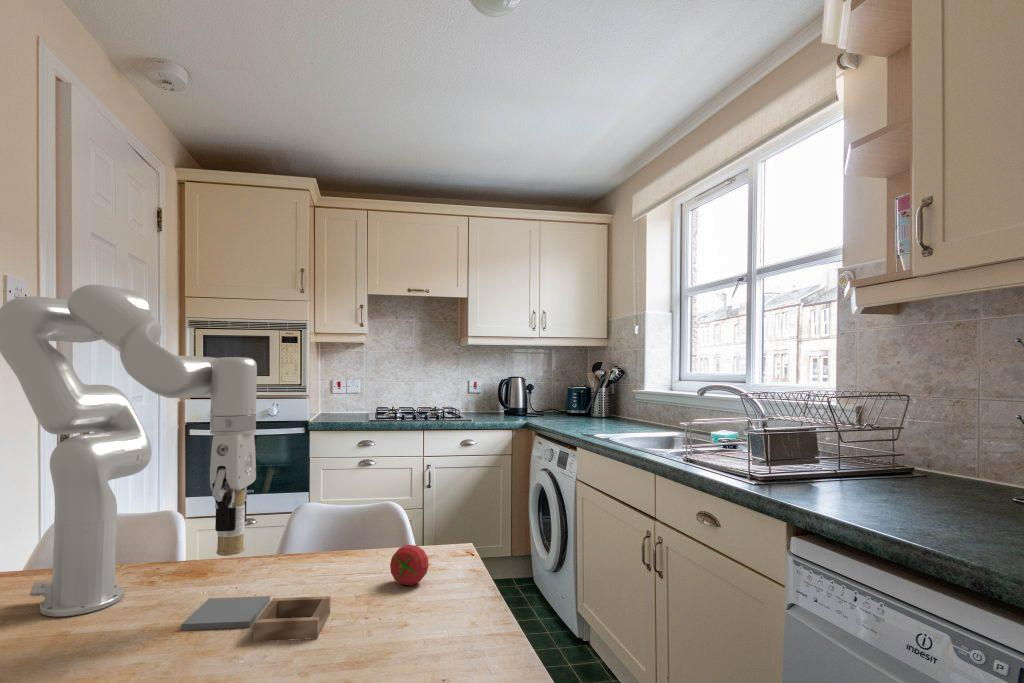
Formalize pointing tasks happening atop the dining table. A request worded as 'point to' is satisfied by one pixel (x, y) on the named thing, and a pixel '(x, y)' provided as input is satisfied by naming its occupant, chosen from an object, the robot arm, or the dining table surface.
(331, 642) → the dining table surface
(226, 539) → the spice jar
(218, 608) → the mat
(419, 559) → the tomato
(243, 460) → the robot arm
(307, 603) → the brown wooden square tray
